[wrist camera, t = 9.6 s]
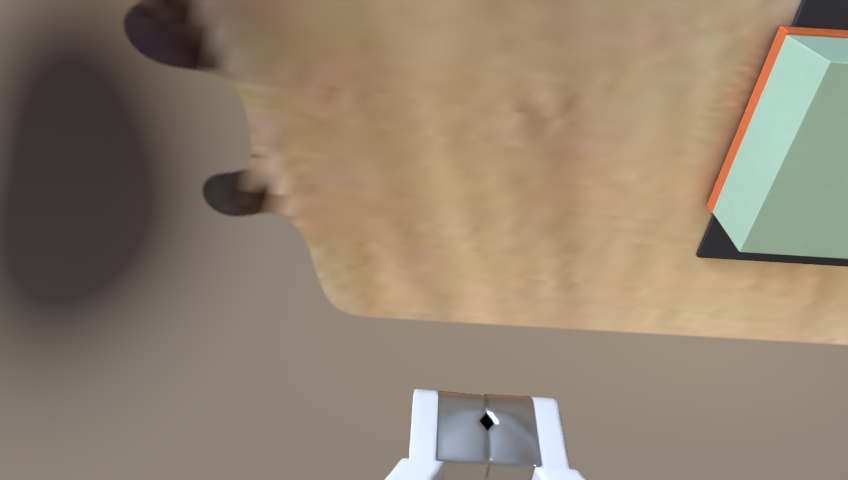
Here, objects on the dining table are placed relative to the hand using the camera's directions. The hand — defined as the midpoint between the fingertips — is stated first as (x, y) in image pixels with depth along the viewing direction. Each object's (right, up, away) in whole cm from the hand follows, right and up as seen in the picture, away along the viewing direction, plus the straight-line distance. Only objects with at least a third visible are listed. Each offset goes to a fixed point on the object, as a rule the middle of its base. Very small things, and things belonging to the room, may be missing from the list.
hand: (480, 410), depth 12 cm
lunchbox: (+19, +9, +22) cm, 30 cm away
